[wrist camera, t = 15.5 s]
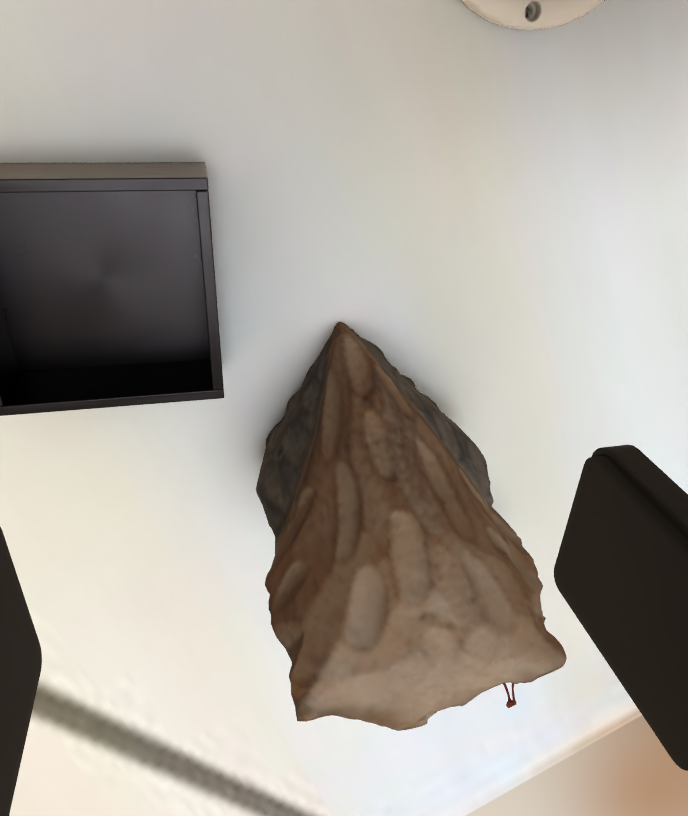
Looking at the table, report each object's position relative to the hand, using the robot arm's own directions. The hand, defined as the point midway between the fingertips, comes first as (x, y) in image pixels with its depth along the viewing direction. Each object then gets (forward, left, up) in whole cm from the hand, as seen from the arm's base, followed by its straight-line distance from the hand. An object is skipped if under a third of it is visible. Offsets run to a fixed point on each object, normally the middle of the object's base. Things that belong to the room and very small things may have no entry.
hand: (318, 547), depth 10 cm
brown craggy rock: (+15, +8, -28) cm, 33 cm away
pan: (+5, -7, -28) cm, 30 cm away
